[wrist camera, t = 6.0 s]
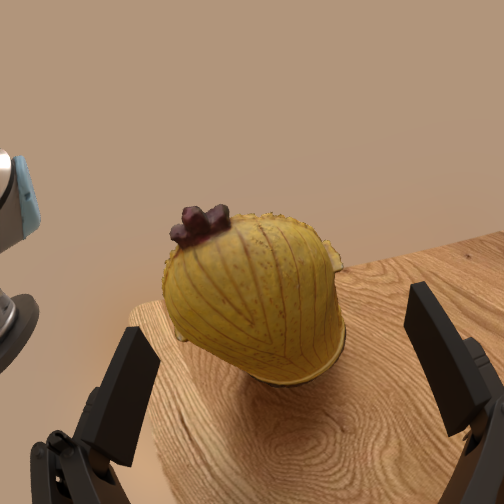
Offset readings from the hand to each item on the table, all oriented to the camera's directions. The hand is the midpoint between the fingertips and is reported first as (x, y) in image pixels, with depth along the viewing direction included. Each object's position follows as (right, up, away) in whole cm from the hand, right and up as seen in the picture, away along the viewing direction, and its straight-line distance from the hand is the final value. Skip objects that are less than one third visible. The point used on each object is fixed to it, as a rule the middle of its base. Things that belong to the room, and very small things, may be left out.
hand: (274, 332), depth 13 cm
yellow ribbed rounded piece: (+2, -5, +6) cm, 9 cm away
